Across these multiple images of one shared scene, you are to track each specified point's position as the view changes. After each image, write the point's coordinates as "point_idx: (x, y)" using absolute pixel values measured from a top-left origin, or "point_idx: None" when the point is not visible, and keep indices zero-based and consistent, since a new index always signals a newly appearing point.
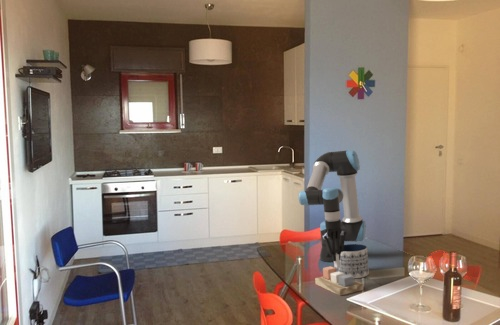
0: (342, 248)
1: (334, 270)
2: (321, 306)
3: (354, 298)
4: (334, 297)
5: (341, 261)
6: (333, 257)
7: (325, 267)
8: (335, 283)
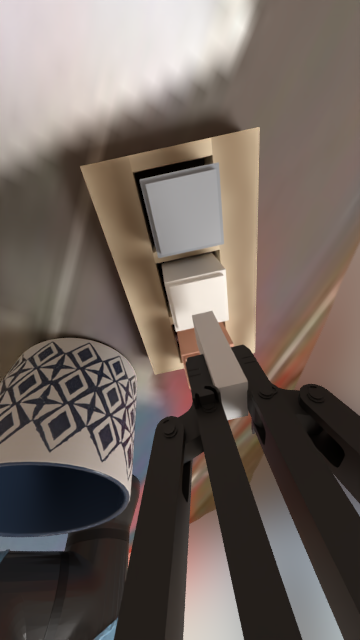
0: (166, 459)
1: (193, 348)
2: None
3: (197, 4)
4: (283, 121)
5: (125, 419)
6: (261, 368)
7: None
8: (222, 253)
